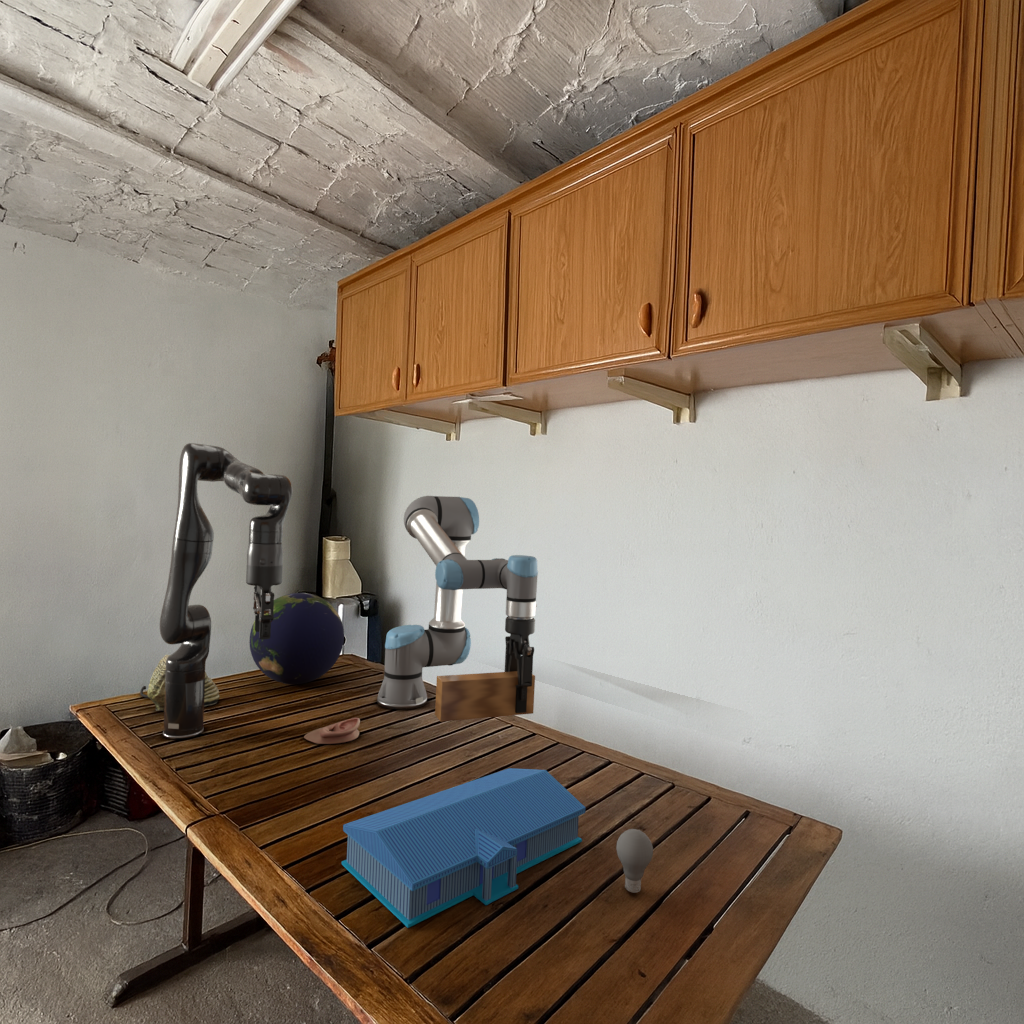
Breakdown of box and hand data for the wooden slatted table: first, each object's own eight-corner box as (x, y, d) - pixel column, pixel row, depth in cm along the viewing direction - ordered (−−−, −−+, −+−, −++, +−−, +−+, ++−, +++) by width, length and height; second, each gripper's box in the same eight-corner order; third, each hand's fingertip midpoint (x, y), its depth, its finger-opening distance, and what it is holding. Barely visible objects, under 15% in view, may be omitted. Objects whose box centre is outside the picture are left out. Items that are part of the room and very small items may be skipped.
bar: (440, 721, 150) (442, 681, 150) (434, 714, 155) (436, 675, 155) (533, 713, 159) (535, 675, 159) (525, 707, 164) (527, 670, 164)
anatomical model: (298, 725, 162) (320, 711, 174) (297, 741, 162) (319, 726, 174) (346, 731, 160) (365, 717, 171) (345, 747, 160) (365, 731, 171)
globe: (227, 687, 204) (230, 594, 203) (291, 666, 231) (294, 584, 231) (301, 702, 192) (305, 604, 192) (360, 678, 220) (363, 592, 220)
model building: (420, 939, 92) (422, 871, 92) (340, 863, 110) (342, 805, 110) (595, 848, 118) (598, 795, 118) (507, 798, 136) (509, 752, 136)
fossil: (144, 707, 182) (145, 655, 182) (212, 696, 194) (213, 647, 194) (151, 716, 175) (153, 662, 175) (221, 703, 188) (223, 653, 188)
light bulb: (610, 879, 108) (613, 822, 108) (644, 879, 109) (647, 822, 109) (619, 902, 102) (622, 840, 102) (655, 901, 103) (658, 840, 103)
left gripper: (287, 566, 137) (284, 640, 138) (277, 559, 150) (275, 627, 150) (250, 566, 134) (247, 643, 134) (243, 559, 146) (241, 629, 147)
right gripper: (549, 623, 153) (544, 719, 153) (520, 610, 169) (516, 696, 170) (520, 624, 150) (516, 722, 150) (494, 610, 167) (490, 698, 167)
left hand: (262, 635), depth 142 cm, fingers open, 8 cm apart
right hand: (516, 708), depth 160 cm, fingers closed on bar, 5 cm apart
